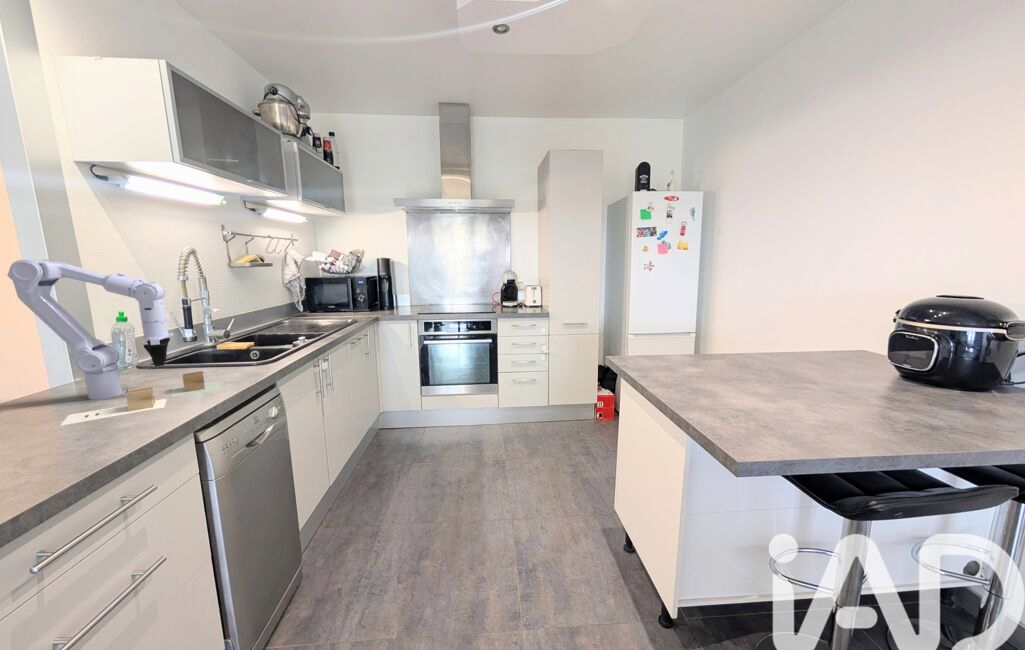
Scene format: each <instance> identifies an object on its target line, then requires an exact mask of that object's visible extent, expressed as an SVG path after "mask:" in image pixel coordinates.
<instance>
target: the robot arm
mask: <svg viewBox="0 0 1025 650" xmlns="http://www.w3.org/2000/svg"><path fill="white" fill-rule="evenodd" d="M6 275H7V277H8V278H9V279H10V280H11V281H12V283H13V285H14V288H15V291H16V292H15V293H16V295H17V298H18V299H19V300H20V301H21V302H22V303H23V304H24V305H25V306H26V307H27V308H28V309H29V310H30V311H32V312H33V314H34V315H35V316H37V317H38V318H39V319H40V320H41V321H42V322H43V323H44V324H45V325H46V326H47V327H48V328H49V329H51V330H52V331H53V332H54V333H55V334H56V335H57V336H58V337H59V338H60V339H62V341H64V343H66V344H67V345H68V347H70V348H71V351H70V356H71V358H73V359H74V361H75V364H76V366H77V368H78V369H79V370H81V371H82V372H83V376H84V381H85V387H86V390H87V398H88V399H89V400H92V401H95V400H98V401H99V400H104V399H109V398H113V397H117V396H120V395H121V394H126V393H127V388H126V389H122V383H121V378H120V373H119V369H118V368H119V367H118V365H117V363H118V362H119V361H120V359H121V353H120V351H119V350H118V349H117V348H115V347H113V346H110V345H109V344H107V343H106V342H105V341H103V340H100V339H98V338H95V337H94V336H93V335H91V334H90V332H89V331H87V329H86V328H84V326H82V325H81V324H80V323H79V322H78V321H77V320H76V319H75V318H74V317H73V316H72V315H71V314H70V313H69V312H68V311H67V310H66V309H65V308H64V307H62V305H61V304H59V303H58V301H57V300H56V299H54V298H53V297H52V296H51V291H52V288H53V287H54V286H55V285H56V284H57V282H58V281H59V280H60V279H65V278H66V279H67V278H68V279H71V280H76V281H81V282H84V283H89V284H94V285H98V286H102V287H103V288H104V290H105V291H106V292H109V293H113V294H116V295H120V296H124V297H128V298H132V299H135V300H136V301H137V302H138V306H139V307H138V308H139V313H140V320H141V324H142V325H141V326H142V327H141V328H142V332H143V333H142V334H143V337H142V338H143V340H146V342H147V344H143V348H144V349H145V351H146V352H147V353H148V354H149V356H150V358H151V361H152V364H153V365H154V366H155V367H162V366H165V362H166V361H167V356H168V355H167V354H168V353H167V352H168V345H169V342H170V341H171V338H170V337H173V336H174V333H171V332H169V330H168V325H167V318H166V311H165V305H164V299H163V298H164V297H165V295H166V290H165V288H164V287H163V286H162V285H161V284H159V283H157V282H150V281H149V282H146V279H141V278H140V279H137V278H133V277H128V276H127V275H126V274H125V273H121V272H118V273H111V274H108V275H107V274H103V273H99V272H96V271H93V270H91V269H90V270H89V269H86V268H84V267H80V266H76V265H73V264H70V263H66V262H62V261H55V260H52V259H38V260H37V259H36V260H35V259H32V260H31V259H18V260H16V261H14V262H12V264H11V265H10V266H9V270H8V273H7V274H6Z"/></svg>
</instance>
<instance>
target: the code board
mask: <svg viewBox="0 0 1025 650" xmlns="http://www.w3.org/2000/svg"><path fill="white" fill-rule="evenodd" d="M166 403H167V398H162V399H161V398H160V399H155V404H154V407H151V408H145V409H139V410H133V411H129V407H128V404H125V405H120V406H116V407H115V406H114V407H108V408H101V409H97V410H95V409H94V410H90V411H85V412H79V413H73V414H68V416H67V417H65V419H64V420H63V421H62V422H61V423H60V427H61V426H65V425H66V426H67V425H71V424H77V423H84V422H87V421H94V420H100V419H104V418H111V417H117V416H122V415H128V414H133V413H134V414H135V413H138V412H139V413H140V412H145V411H150V410H157V409H161V408H162V409H163V408H165V407H166Z"/></svg>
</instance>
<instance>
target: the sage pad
mask: <svg viewBox="0 0 1025 650" xmlns="http://www.w3.org/2000/svg"><path fill="white" fill-rule="evenodd" d="M204 385H205V389H202V390H195V391H189V392H185V389H184V385H181V386H175V387H172V391H171V396H170V398H175V397H181V396H187V395H193V394H198V393H199V394H200V393H206V392H213V391H218V390H221V386H220V381H219V380H212V381H208V382H204Z"/></svg>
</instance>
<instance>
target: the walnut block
mask: <svg viewBox="0 0 1025 650" xmlns="http://www.w3.org/2000/svg"><path fill="white" fill-rule="evenodd" d="M182 381H183V382H182V383H183V386H184V389H185V392H189V391H195V390H202V389H205V385H204V383H205V378H204V372H203V370H200V371H192V372H191V371H190V372H183V373H182Z"/></svg>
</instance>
